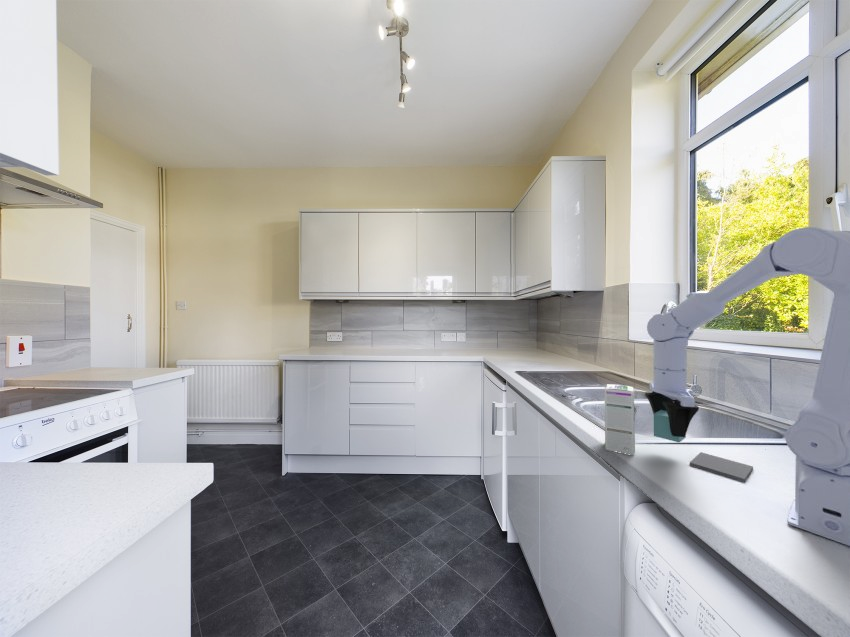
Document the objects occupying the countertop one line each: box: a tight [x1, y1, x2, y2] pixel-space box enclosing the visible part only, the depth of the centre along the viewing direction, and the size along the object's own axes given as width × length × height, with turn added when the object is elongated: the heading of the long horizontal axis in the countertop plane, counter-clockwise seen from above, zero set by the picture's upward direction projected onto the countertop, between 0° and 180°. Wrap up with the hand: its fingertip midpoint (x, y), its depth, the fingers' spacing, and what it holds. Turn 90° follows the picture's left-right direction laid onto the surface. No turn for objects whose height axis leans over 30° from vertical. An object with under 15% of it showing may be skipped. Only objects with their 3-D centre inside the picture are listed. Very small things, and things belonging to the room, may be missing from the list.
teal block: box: [653, 410, 687, 443], centre depth 68 cm, size 4×4×5 cm
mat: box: [689, 451, 754, 483], centre depth 63 cm, size 8×8×1 cm
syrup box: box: [604, 383, 636, 456], centre depth 71 cm, size 6×6×14 cm
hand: (669, 430), depth 68 cm, fingers closed on teal block, 6 cm apart
